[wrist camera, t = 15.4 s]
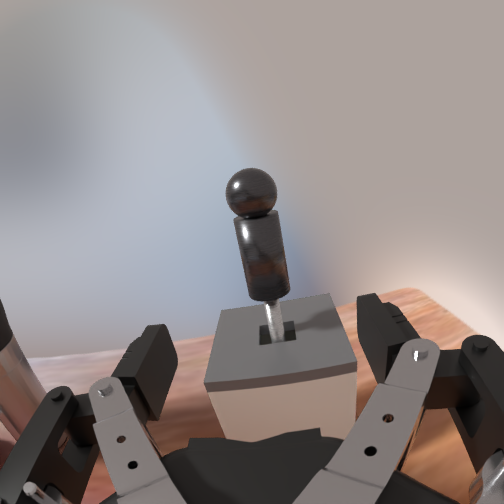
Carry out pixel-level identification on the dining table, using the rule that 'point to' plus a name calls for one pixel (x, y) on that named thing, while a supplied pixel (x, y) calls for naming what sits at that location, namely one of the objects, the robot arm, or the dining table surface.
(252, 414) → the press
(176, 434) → the dining table surface
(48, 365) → the dining table surface
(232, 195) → the plunger
